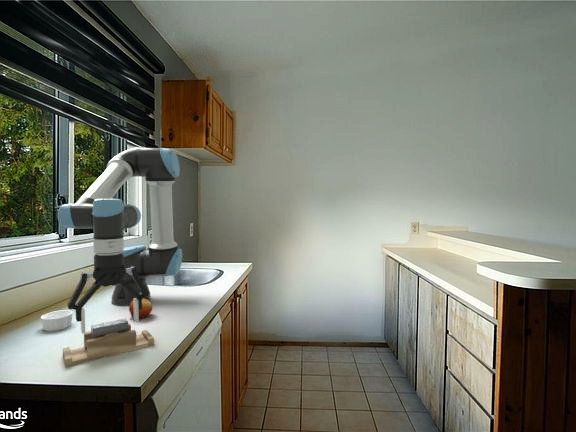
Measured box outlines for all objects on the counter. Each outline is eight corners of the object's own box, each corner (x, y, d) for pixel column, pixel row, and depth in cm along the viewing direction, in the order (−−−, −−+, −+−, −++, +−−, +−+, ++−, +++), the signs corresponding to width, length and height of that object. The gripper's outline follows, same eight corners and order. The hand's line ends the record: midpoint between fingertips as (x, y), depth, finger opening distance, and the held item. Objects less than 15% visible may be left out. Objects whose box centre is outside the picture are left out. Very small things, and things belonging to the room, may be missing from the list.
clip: (91, 348, 92) (90, 325, 92) (126, 340, 98) (125, 318, 97) (92, 352, 90) (92, 328, 90) (128, 343, 95) (128, 321, 95)
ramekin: (52, 333, 105) (52, 320, 105) (34, 329, 108) (34, 316, 108) (79, 324, 113) (78, 311, 113) (61, 320, 116) (61, 308, 116)
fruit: (124, 311, 122) (136, 292, 123) (143, 320, 125) (155, 301, 126) (122, 318, 114) (135, 298, 116) (143, 327, 117) (156, 307, 119)
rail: (62, 355, 90) (62, 336, 90) (146, 335, 104) (146, 319, 104) (65, 367, 84) (64, 347, 84) (154, 344, 97) (154, 327, 97)
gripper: (56, 260, 82) (58, 342, 83) (158, 250, 97) (159, 320, 99) (54, 255, 88) (57, 332, 89) (151, 247, 103) (152, 312, 105)
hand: (110, 326), depth 94 cm, fingers open, 13 cm apart
